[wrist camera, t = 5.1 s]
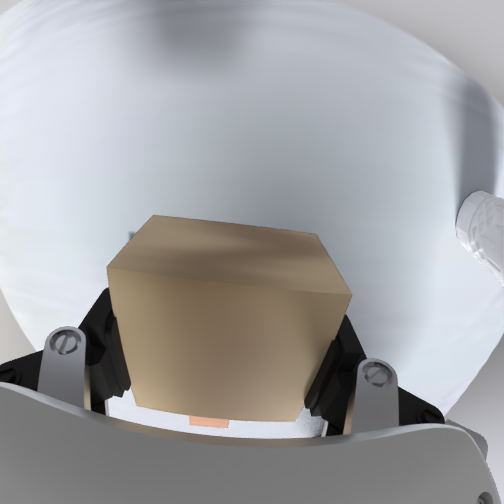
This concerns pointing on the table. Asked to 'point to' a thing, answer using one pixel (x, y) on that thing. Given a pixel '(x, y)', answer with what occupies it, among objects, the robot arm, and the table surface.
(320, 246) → the oak block
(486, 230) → the white cup
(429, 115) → the table surface
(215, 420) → the terracotta block
